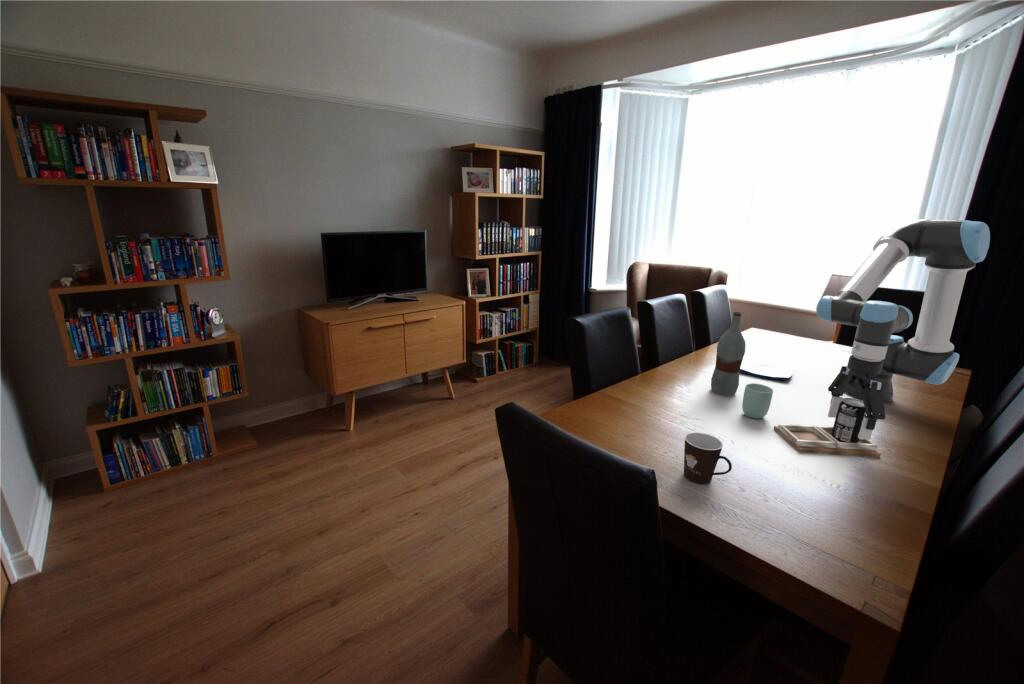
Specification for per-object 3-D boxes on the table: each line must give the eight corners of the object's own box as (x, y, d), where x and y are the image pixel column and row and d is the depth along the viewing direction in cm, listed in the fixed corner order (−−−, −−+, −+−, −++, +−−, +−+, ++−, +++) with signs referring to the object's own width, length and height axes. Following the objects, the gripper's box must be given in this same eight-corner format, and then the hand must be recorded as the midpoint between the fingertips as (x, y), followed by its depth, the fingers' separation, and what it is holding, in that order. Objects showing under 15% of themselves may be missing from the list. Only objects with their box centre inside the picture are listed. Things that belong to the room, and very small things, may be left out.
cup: (756, 423, 144) (762, 393, 141) (735, 413, 151) (740, 385, 148) (772, 419, 148) (778, 390, 145) (750, 409, 154) (756, 381, 151)
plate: (792, 371, 196) (793, 365, 195) (790, 385, 179) (791, 379, 178) (740, 361, 206) (741, 355, 205) (733, 373, 189) (734, 367, 189)
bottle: (703, 388, 171) (717, 310, 162) (722, 386, 174) (735, 309, 166) (724, 398, 162) (739, 316, 154) (742, 395, 166) (758, 314, 157)
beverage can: (851, 436, 135) (861, 398, 132) (862, 446, 129) (873, 407, 126) (826, 433, 136) (836, 396, 133) (837, 443, 130) (847, 405, 127)
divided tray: (846, 433, 140) (848, 425, 139) (879, 457, 126) (882, 448, 125) (773, 429, 140) (775, 421, 140) (798, 452, 127) (801, 444, 126)
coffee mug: (673, 467, 117) (678, 432, 114) (705, 467, 118) (711, 432, 115) (694, 495, 106) (701, 457, 103) (729, 494, 107) (737, 456, 104)
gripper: (825, 343, 138) (809, 408, 144) (886, 372, 114) (864, 448, 120) (850, 345, 137) (833, 409, 143) (917, 374, 114) (893, 450, 120)
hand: (847, 427), depth 132 cm, fingers open, 13 cm apart
